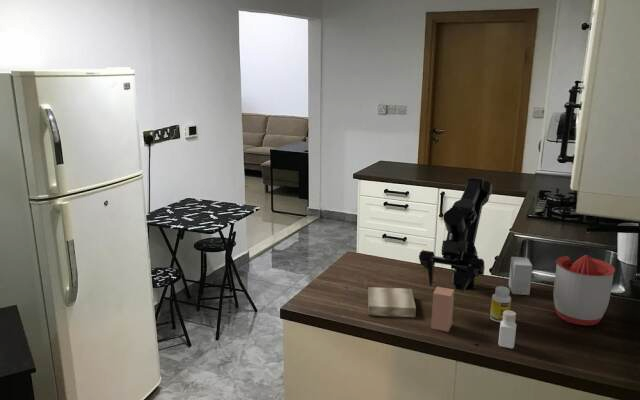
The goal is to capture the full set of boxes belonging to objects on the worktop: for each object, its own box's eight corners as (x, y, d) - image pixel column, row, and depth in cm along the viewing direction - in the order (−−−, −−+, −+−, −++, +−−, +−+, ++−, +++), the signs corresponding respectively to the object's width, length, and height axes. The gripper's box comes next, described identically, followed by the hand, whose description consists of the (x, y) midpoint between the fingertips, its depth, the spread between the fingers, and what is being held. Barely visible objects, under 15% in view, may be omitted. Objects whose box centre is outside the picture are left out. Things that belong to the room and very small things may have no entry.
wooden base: (410, 297, 169) (411, 288, 168) (415, 317, 155) (415, 308, 155) (368, 295, 170) (368, 287, 169) (368, 315, 156) (368, 306, 156)
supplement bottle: (499, 324, 151) (502, 294, 149) (485, 317, 156) (488, 287, 153) (512, 321, 153) (516, 290, 151) (499, 313, 158) (502, 283, 156)
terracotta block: (434, 320, 153) (437, 286, 150) (451, 324, 151) (454, 289, 148) (431, 328, 149) (433, 293, 146) (448, 331, 147) (451, 296, 144)
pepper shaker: (499, 339, 143) (502, 308, 140) (514, 342, 141) (517, 311, 139) (497, 346, 139) (501, 314, 137) (513, 349, 138) (517, 317, 135)
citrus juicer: (594, 305, 164) (603, 246, 159) (615, 332, 147) (625, 266, 142) (542, 301, 166) (549, 242, 161) (556, 327, 150) (565, 262, 145)
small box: (529, 295, 171) (533, 265, 168) (511, 294, 172) (514, 264, 169) (525, 286, 178) (528, 257, 176) (508, 284, 179) (511, 256, 177)
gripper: (422, 224, 155) (410, 271, 148) (486, 233, 147) (478, 282, 140) (426, 242, 164) (416, 287, 157) (487, 250, 156) (479, 298, 149)
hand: (446, 288), depth 150 cm, fingers open, 9 cm apart
